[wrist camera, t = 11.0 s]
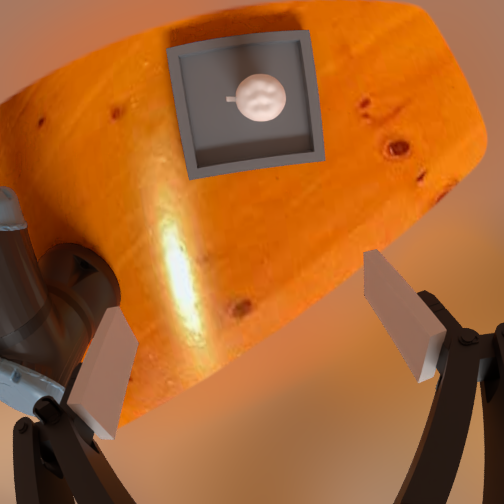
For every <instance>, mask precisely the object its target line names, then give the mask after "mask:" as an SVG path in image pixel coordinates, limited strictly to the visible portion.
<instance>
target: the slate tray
mask: <svg viewBox="0 0 504 504" xmlns="http://www.w3.org/2000/svg"><path fill="white" fill-rule="evenodd" d="M166 51H167V58H168V64H169V71H170V77H171V83H172V89H173V95H174V101H175V107H176V113H177V119H178V124H179V130H180V135H181V141H182V146H183V151H184V156H185V162H186V167H187V172H188V177H189V180H193V179H199V178H204V177H210V176H216V175H222V174H228V173H234V172H241V171H248V170H254V169H262V168H269V167H276V166H284V165H292V164H301V163H310V162H319V161H325V152H324V140H323V130H322V120H321V111H320V103H319V94H318V87H317V79H316V72H315V65H314V58H313V52H312V45H311V39H310V33H309V30H294V31H276V32H264V33H253V34H244V35H236V36H229V37H222V38H216V39H210V40H204V41H199V42H194V43H189V44H184V45H180V46H175V47H171V48H167V49H166ZM254 74H267V75H270V76H272V77H274V78H276V79H277V80H278V81H279V82H280V83H281V85H282V86H283V88H284V90H285V94H286V103H285V106H284V108H283V110H282V111H281V113H280V114H279V115H278V116H277V117H276V118H274V119H272V120H269V121H253V120H251V119H249V118H247V117H245V116H244V115H243V114H242V113H241V112H240V111H239V109H238V107H237V104H236V102H226V97H236V90H237V88H238V86H239V84H240V83H241V82H242V81H243V80H244V79H246V78H247V77H249V76H251V75H254Z"/></svg>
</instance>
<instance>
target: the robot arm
mask: <svg viewBox="0 0 504 504" xmlns="http://www.w3.org/2000/svg"><path fill="white" fill-rule="evenodd" d="M27 227H28V225H27V222H26V221H25V220H24V217H23V214H22V211H21V207H20V204H19V201H18V197H17V195H16V193H15V192H14V191H13V190H12V189H11V188H9V187H6V186H0V400H1V401H2V402H4V403H5V404H7V405H8V406H10V407H12V408H14V409H16V410H18V411H20V412H22V413H25V414H28V415H31V416H34V417H37V418H38V419H39V420H40V422H36V423H34V422H33V421H32V420H31V419H30V418H28V417H23V418H21V419H20V420H18V421H17V422H16V424H15V426H14V430H13V465H14V482H15V492H16V501H17V504H75V501H74V498H75V500H76V502H77V503H78V504H136V503H135V501H134V500H133V498H132V497H131V496H130V494H129V493H128V492H127V490H126V489H125V487H124V486H123V484H122V483H121V481H120V480H119V479H118V477H117V476H116V474H115V473H114V471H113V469H112V468H111V466H110V465H109V463H108V461H107V460H106V458H105V456H104V455H103V453H102V451H101V450H100V448H99V446H98V444H97V443H96V442H95V441H94V439H93V435H94V433H95V434H96V435H97V436H98V437H99V438H100V439H110V440H111V439H112V440H114V439H115V436H116V431H117V427H118V422H119V418H120V413H121V409H122V405H123V401H124V397H125V392H126V388H127V385H128V381H129V377H130V373H131V369H132V365H133V362H134V358H135V354H136V351H137V347H138V344H139V343H138V341H137V340H136V338H135V336H134V334H133V332H132V330H131V329H130V327H129V325H128V323H127V321H126V319H125V317H124V315H123V313H122V311H121V310H120V308H119V306H120V301H121V294H120V288H119V284H118V281H117V279H116V277H115V275H114V273H113V271H112V270H111V268H110V267H109V266H108V265H107V263H106V262H105V261H104V260H103V259H102V258H101V257H99V256H98V255H97V254H96V253H94V252H93V251H91V250H89V249H87V248H85V247H83V246H80V245H77V244H71V243H63V244H58V245H56V246H54V247H52V248H50V249H49V250H48V251H47V252H46V253H45V254H44V255H43V256H42V257H41V258H40V259H39V261H38V262H37V259H36V256H35V253H34V250H33V247H32V244H31V241H30V237H29V234H28V230H27ZM364 296H365V297H366V299H367V300H368V302H369V304H370V305H371V307H372V308H373V310H374V311H375V313H376V314H377V316H378V317H379V319H380V321H381V322H382V324H383V325H384V327H385V328H386V330H387V332H388V333H389V335H390V337H391V338H392V340H393V342H394V343H395V345H396V346H397V348H398V350H399V351H400V353H401V355H402V356H403V358H404V360H405V361H406V363H407V365H408V366H409V368H410V370H411V372H412V373H413V375H414V377H415V378H416V380H417V382H418V383H420V382H422V381H425V380H427V379H429V378H432V377H433V376H434V373H435V370H436V368H437V370H438V371H439V373H440V377H439V380H438V383H437V385H436V392H435V396H434V399H433V403H432V406H431V409H430V413H429V416H428V420H427V422H426V425H425V428H424V431H423V434H422V437H421V440H420V443H419V445H418V448H417V451H416V453H415V456H414V459H413V461H412V463H411V466H410V468H409V471H408V473H407V475H406V478H405V480H404V482H403V484H402V487H401V489H400V491H399V493H398V495H397V497H396V499H395V501H394V503H393V504H446V502H447V499H448V496H449V493H450V491H451V488H452V485H453V482H454V480H455V477H456V473H457V470H458V467H459V463H460V460H461V457H462V453H463V450H464V446H465V442H466V438H467V434H468V430H469V425H470V420H471V416H472V410H473V405H474V399H475V393H476V387H477V382H479V381H480V388H481V397H482V407H483V420H484V444H485V467H484V491H483V502H482V504H504V323H501V324H499V325H498V326H497V328H496V330H495V333H491V334H484V335H479V334H478V333H477V332H476V331H474V330H472V329H469V328H462V326H461V325H460V324H459V323H458V322H457V321H456V319H455V318H454V317H453V316H452V315H451V314H450V313H449V311H448V310H447V309H445V307H444V306H443V305H442V304H441V303H440V301H439V300H438V299H437V298H436V297H435V296H434V295H433V294H431V293H429V292H427V291H425V290H424V291H421V292H418V293H416V292H415V291H414V290H413V289H412V288H411V286H410V285H409V284H408V283H407V282H406V281H405V280H404V279H403V277H402V276H401V275H400V274H399V273H398V272H397V271H396V270H395V268H394V267H393V266H392V265H391V264H390V263H389V262H388V261H387V260H386V259H385V258H384V257H383V255H382V254H381V253H380V252H379V251H378V250H377V249H375V250H371V251H367V252H364ZM92 338H93V340H92V342H91V345H90V347H89V349H88V352H87V354H86V356H85V359H84V361H83V363H80V362H81V360H82V358H83V355H84V353H85V351H86V349H87V346H88V344H89V342H90V340H91V339H92ZM73 496H74V497H73Z"/></svg>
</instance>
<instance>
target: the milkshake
mask: <svg viewBox="0 0 504 504" xmlns="http://www.w3.org/2000/svg"><path fill="white" fill-rule="evenodd" d="M226 102H236V104H237V107H238V109H239V111H240V112H241V113H242V114H243V115H244V116H245V117H247V118H249V119H251V120H253V121H269V120H272V119H274V118H276V117H277V116H278V115H279V114H280V113H281V111H282V110H283V108H284V106H285V103H286V94H285V90H284V88H283V86H282V85H281V83H280V82H279V81H278V80H277V79H276V78H274V77H272V76H270V75H267V74H254V75H251V76H249V77H247V78H246V79H244V80H243V81H242V82H241V83H240V84H239V86H238V88H237V90H236V97H226Z"/></svg>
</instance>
